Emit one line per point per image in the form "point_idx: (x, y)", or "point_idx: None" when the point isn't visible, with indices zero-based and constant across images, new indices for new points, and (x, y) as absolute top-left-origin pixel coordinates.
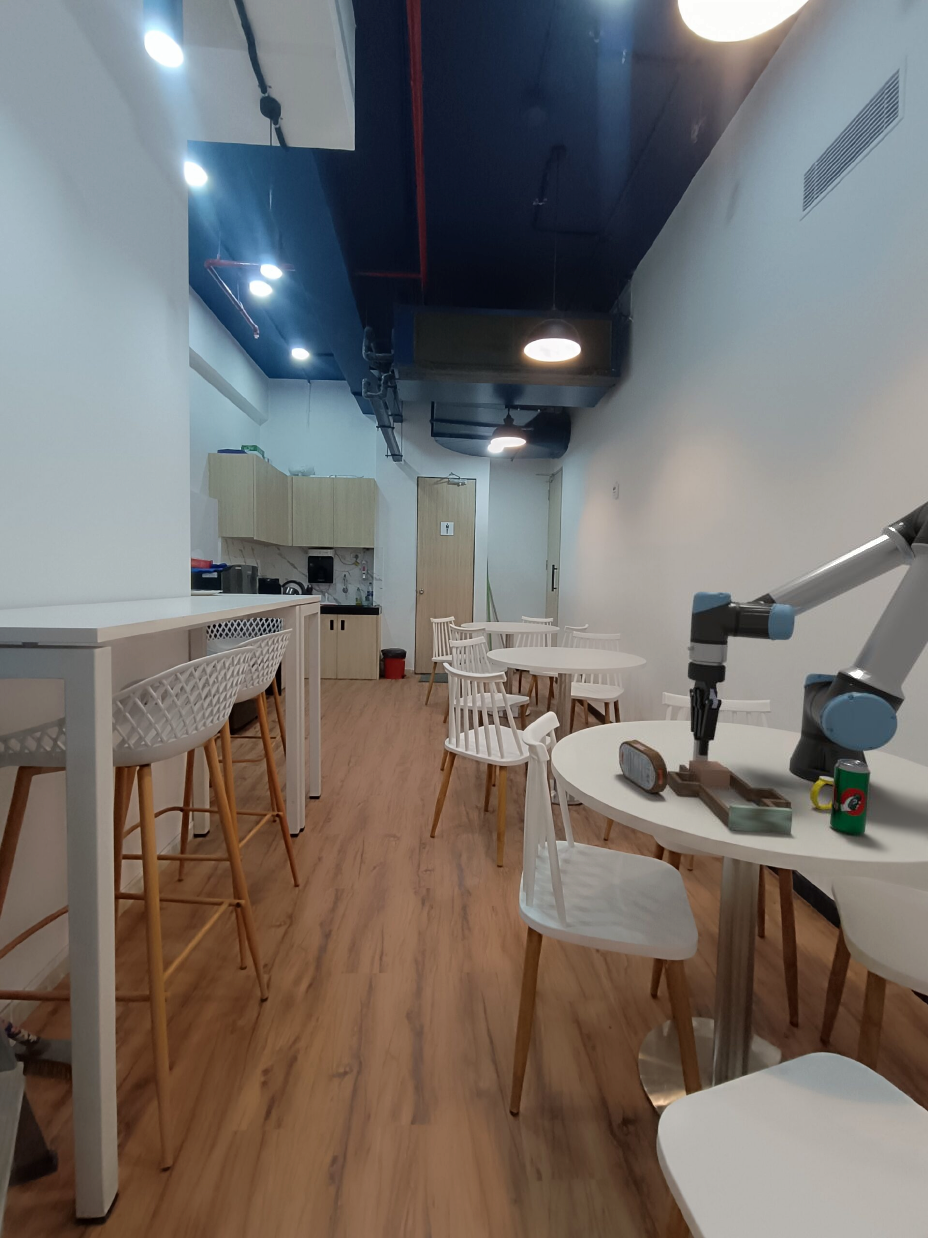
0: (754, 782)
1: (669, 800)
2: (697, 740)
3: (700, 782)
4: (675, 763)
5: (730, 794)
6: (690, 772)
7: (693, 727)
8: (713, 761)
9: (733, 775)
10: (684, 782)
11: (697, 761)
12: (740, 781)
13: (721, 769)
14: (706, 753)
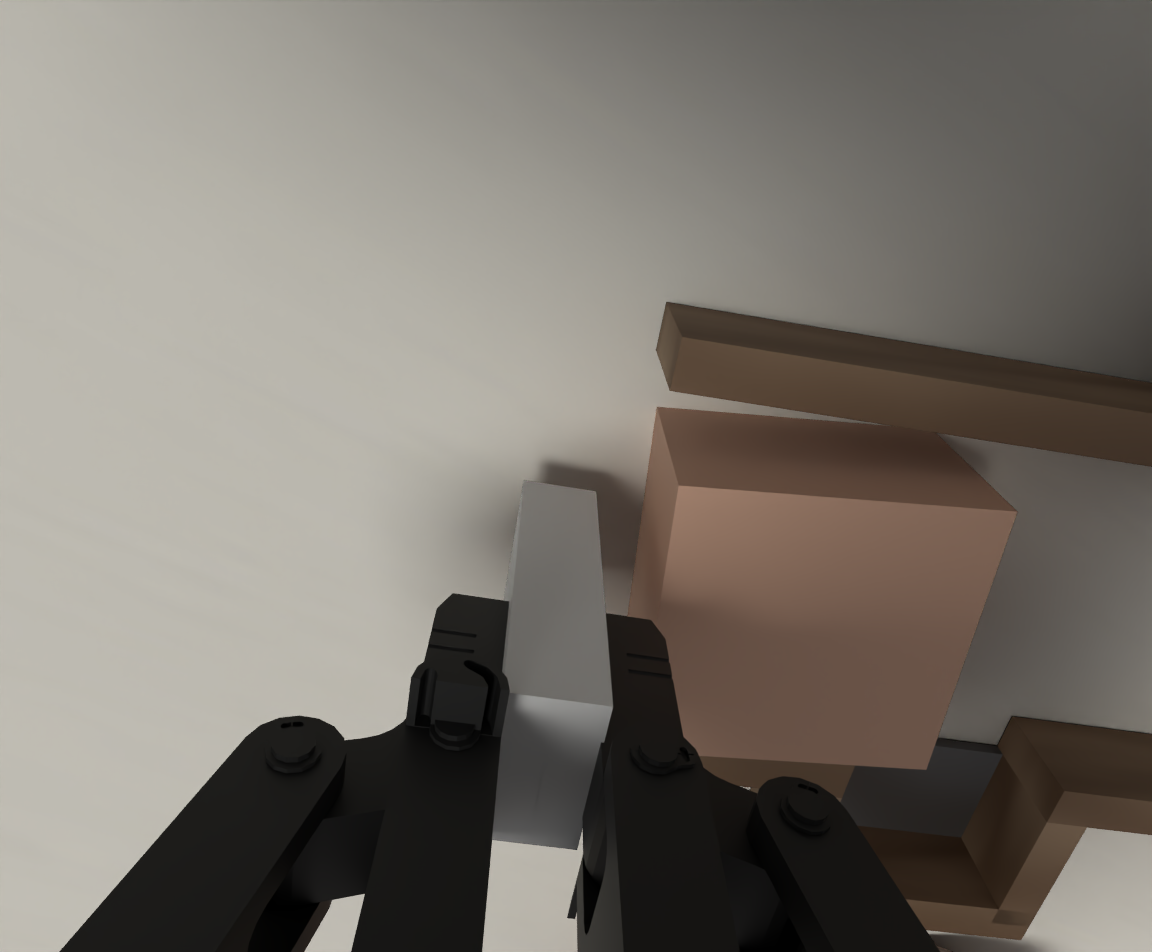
0: (808, 3)
1: (1038, 927)
2: (580, 835)
3: (1058, 806)
4: (217, 573)
5: (1056, 495)
6: (812, 774)
7: (312, 931)
8: (684, 528)
9: (963, 423)
10: (1026, 906)
11: (678, 696)
12: (1140, 455)
13: (964, 588)
14: (664, 652)
